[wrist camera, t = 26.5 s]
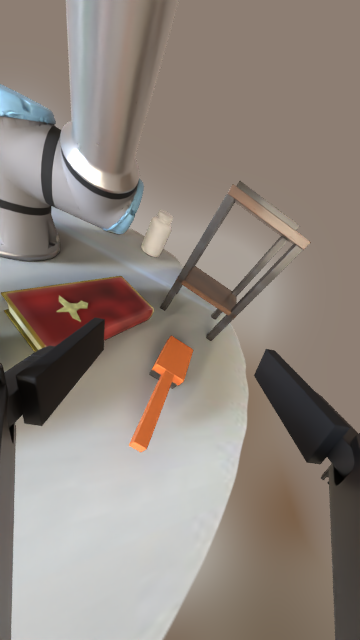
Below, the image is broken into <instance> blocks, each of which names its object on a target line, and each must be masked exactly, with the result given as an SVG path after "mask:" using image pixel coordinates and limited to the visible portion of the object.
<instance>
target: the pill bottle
mask: <svg viewBox="0 0 360 640" xmlns="http://www.w3.org/2000/svg"><path fill="white" fill-rule="evenodd" d="M172 220H173V217H172V216H171V215H170V214H169V213H167V212H165V211H163V210H159V212H158V217H153V218H152V220H151V222H150V225H149V228H148V230H147V233H146V235H145V238H144V240H143V243H142V246H141V248H142V250H143V251H144V252H145V253H147V254H148V255H150V256H152V257H159V256H160V254H161V252H162V250H163V248H164V246H165V244H166V242H167V240H168V237H169V235H170V233H171V231H172V227H171V226H170V224H171V222H172Z"/></svg>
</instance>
